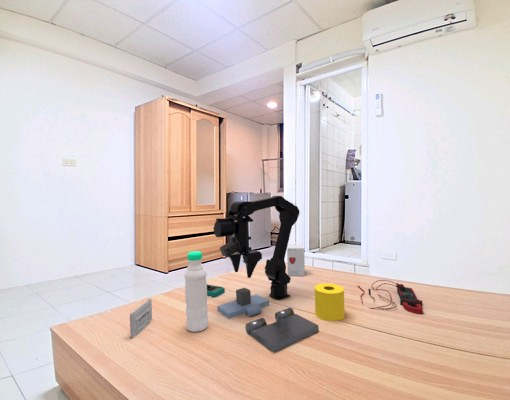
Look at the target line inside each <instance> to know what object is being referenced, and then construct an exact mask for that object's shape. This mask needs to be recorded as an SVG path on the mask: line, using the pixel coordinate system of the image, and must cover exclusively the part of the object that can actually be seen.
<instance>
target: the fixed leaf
mask: <svg viewBox="0 0 510 400" xmlns="http://www.w3.org/2000/svg"><path fill="white" fill-rule="evenodd" d="M274 318H275V321H274V322H272V323H269V324H267V320H266V318H264V317H260V318H258V319H255V320H252V321H250V322H246V323H245V331H246V333H247V334H248V335H250V336H251V337H252V338H253V339H255V341H257V342H258V343H260V344H261V345H263V346H264V347H265V348H267V350H269V351H270V352H272V353H274V354H275V353H277V352H279V351H280V350H284V349H286V348H287V347H289V346H291V345H293V344H296V343H298V342H300V341H302V340H304V339H306V338H308V337H310V336H312V335H314V334H316V333H319V332H320V330H319V324H317V323H315V322H313V321H311V320H309V319H307V318H305V317H303V316H302V315H299V314H297V313H295V311H294V309H293V308H292V307H288V308H285V309H282V310H280V311H277V312H275V313H274Z"/></svg>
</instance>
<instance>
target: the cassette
mask: <svg viewBox="0 0 510 400" xmlns="http://www.w3.org/2000/svg"><path fill="white" fill-rule="evenodd" d="M152 303H153V302H152V298H148V299H147V300H146V301H145V302H143V303H142V304H141V305H139V306H138V307H137V308H136V309H134V310H133V311H132V312H130V313H129V327H130V328H129V330H130V331H129V332H130V333H129V335H130V338H131V339H134V338H135V337H136V336H138V335H139V334H140V333H141V332H142V331H143V330H144V329H145V328H146V327H148V325H150V324H151V322H152V321H153V309H152V308H153V307H152V305H153V304H152ZM151 320H152V321H151ZM150 321H151V322H150ZM149 323H150V324H149Z"/></svg>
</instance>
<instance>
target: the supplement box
mask: <svg viewBox="0 0 510 400" xmlns="http://www.w3.org/2000/svg"><path fill="white" fill-rule="evenodd" d="M286 254H287V257H286V260H287V266H286V267H287V275H288V276H289V277H305V276H306V275H305V273H306V272H305V264H306V263H305V245H304V244H288V246H287V250H286Z"/></svg>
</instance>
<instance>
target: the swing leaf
mask: <svg viewBox="0 0 510 400" xmlns="http://www.w3.org/2000/svg"><path fill="white" fill-rule="evenodd" d="M235 296H236V297H235V299H236V300H234V301H229V302H226V303H222V304H220V305H217V312H219V313H220V314H221V313H222V314H221V315H222V316H224V317H225V316H226V318H227V320H231V319H233V317H234V318H236V317H240V316H243V315H246V316H247V317H248V318H249V317H252V316H256V315H257V314H261V313H262V309H263V308H266V307H268V306H270V299H267V298H266V297H263V296H262V295H261V296H260V295H259V294H257V293H256V294H254V295H251V290H250V289H248V288H246V287H242V288H238V289H236V290H235ZM230 318H231V319H230Z"/></svg>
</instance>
